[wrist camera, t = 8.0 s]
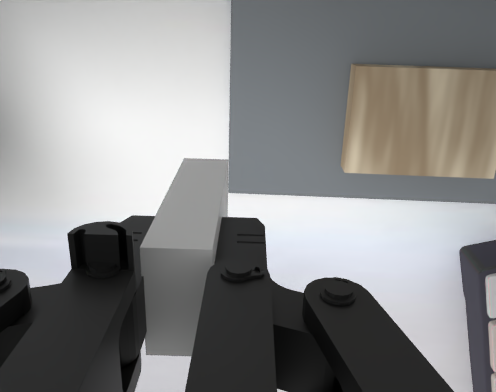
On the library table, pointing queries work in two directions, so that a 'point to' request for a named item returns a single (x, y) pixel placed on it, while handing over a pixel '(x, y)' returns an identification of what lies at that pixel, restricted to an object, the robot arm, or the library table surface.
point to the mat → (338, 89)
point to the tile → (420, 121)
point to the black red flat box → (481, 311)
